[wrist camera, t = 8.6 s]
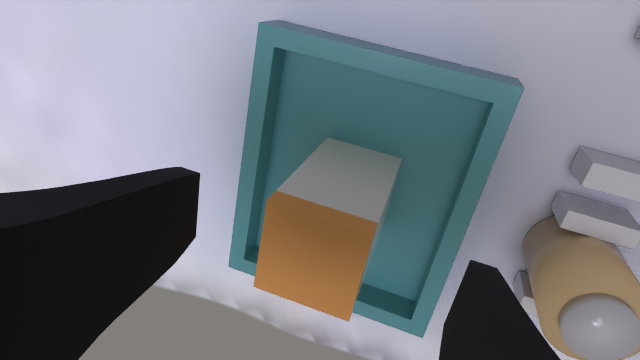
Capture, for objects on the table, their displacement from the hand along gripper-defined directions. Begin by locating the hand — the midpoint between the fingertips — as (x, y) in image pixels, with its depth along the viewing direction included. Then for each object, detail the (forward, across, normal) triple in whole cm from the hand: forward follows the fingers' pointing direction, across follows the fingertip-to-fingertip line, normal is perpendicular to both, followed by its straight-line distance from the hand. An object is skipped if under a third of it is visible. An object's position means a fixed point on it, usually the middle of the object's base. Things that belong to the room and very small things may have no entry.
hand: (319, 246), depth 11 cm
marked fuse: (+10, +1, +2) cm, 10 cm away
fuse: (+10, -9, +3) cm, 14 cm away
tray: (+10, +1, +2) cm, 11 cm away
